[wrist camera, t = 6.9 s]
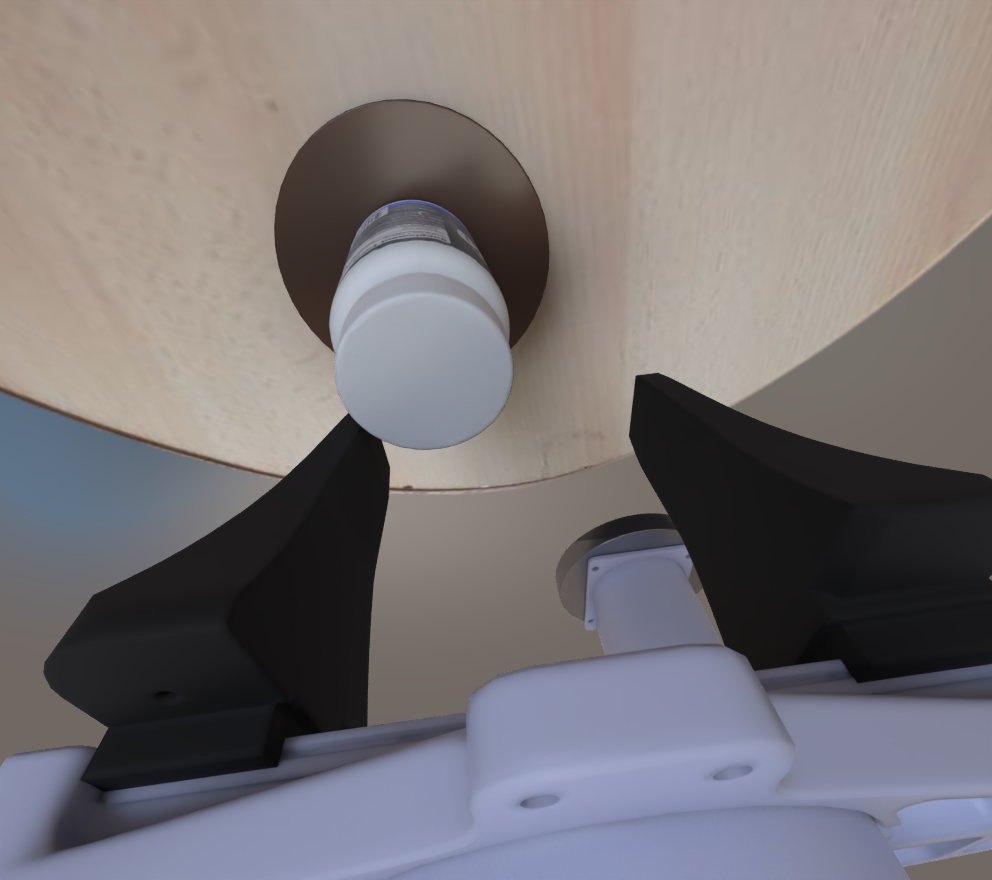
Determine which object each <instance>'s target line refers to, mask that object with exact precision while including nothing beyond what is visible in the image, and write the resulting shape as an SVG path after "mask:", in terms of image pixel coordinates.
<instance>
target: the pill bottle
mask: <svg viewBox="0 0 992 880" xmlns="http://www.w3.org/2000/svg"><path fill="white" fill-rule="evenodd" d="M329 328H330V335H331V341H332V345H333V348H334V351H335V354H336V356H335V365H334V369H335V381H336V386H337V389H338V393H339V396H340V398H341V400H342V402H343V404H344V406H345V408H346V409H347V411H348V412H349V414H350V415H351V417H352V418H353V419H354V420H355V421H356V422H357V423H358V424H359V425H360V426H361V427H363V428H364V429H365V430H366V431H368V432H369V433H370V434H372V435H374V436H375V437H377V438H379V439H381V440H383V441H385V442H388V443H390V444H393V445H396V446H399V447H404V448H411V449H420V450H431V449H441V448H446V447H450V446H454V445H457V444H460V443H462V442H465V441H467V440H469V439H471V438H473V437H474V436H476V435H478V434H479V433H481V432H482V431H483V430H485V429H486V428H487V427H488V426H489V425H491V424H492V423H493V422H494V420H495V419H496V418H497V417H498V415H499V414H500V412H501V411H502V410H503V408H504V406H505V404H506V402H507V400H508V398H509V395H510V391H511V388H512V383H513V373H514V367H513V358H512V353H511V350H510V346H509V336H510V329H509V315H508V310H507V306H506V303H505V299H504V297H503V295H502V292H501V290H500V287H499V285H498V284H497V282H496V280H495V279H494V277H493V275H492V273H491V271H490V270H489V268H488V266H487V265H486V263H485V261H484V259H483V257H482V255H481V253H480V251H479V249H478V248H477V246H476V243H475V242H474V240H473V238H472V236H471V235H470V233H469V232H468V230H467V229H466V227H465V226H464V225H463V224H462V223H461V222H460V221H459V220H458V219H457V218H456V217H455V216H454V215H453V214H451V213H450V212H448V211H447V210H445V209H443V208H442V207H440V206H438V205H435V204H433V203H430V202H426V201H420V200H403V201H397V202H393V203H390V204H388V205H385V206H383V207H381V208H380V209H378V210H377V211H375V212H374V213H372V214H371V215H370V216H369V217H368V218H367V219H366V220H365V221H364V223H363V224H362V225H361V227H360V228H359V230H358V232H357V233H356V236H355V238H354V240H353V243H352V245H351V248H350V251H349V254H348V257H347V260H346V263H345V265H344V268H343V273H342V276H341V279H340V281H339V284H338V287H337V290H336V293H335V295H334V298H333V301H332V306H331V311H330V320H329Z"/></svg>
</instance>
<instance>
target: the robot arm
mask: <svg viewBox="0 0 992 880" xmlns="http://www.w3.org/2000/svg"><path fill="white" fill-rule="evenodd" d="M629 437H630V440H631V443H632V446H633V448H634V451H635V454H636V456H637V458H638V461H639V463H640V466H641V467H642V469H643V471H644V473H645V475H646V476H647V478H648V480H649V482H650V483H651V485H652V487H653V489H654V490H655V492H656V493H657V496H658V497H659V499H660V501H661V502H662V504H663V506H664V508H665V509H666V511H667V513H668V514H669V516H670V518H671V520H672V521H673V523H674V525H675V527H676V528H677V530H678V532H679V534H680V536H681V538H682V540H683V542H684V544H683V545H676V546H668V547H661V548H654V549H646V550H639V551H631V552H624V553H617V554H609V555H602V556H595V557H592V558H590V559H589V560H588V567H587V583H586V599H585V615H584V626H585V629H586V630H598V634H599V637H600V640H601V644H602V647H603V651H604V654H605V655H604V656H596V657H590V658H582V659H575V660H568V661H561V662H554V663H547V664H540V665H533V666H528V667H524V668H520V669H517V670H513V671H509V672H506V673H502V674H498V675H497V676H495V677H494V678H492V679H491V680H489V681H488V682H486V683H485V684H483V685H482V686H480V687H479V688H477V689H476V690H475V691H474V692H473V693H472V695H471V696H470V699H469V703H468V706H467V710H466V712H465V713H458V714H451V715H444V716H437V717H430V718H423V719H416V720H409V721H402V722H395V723H388V724H381V725H374V726H367V710H368V709H367V708H368V705H367V704H368V669H369V645H370V626H371V611H372V598H373V597H372V596H373V583H374V576H375V569H376V564H377V558H378V553H379V547H380V542H381V537H382V532H383V527H384V521H385V516H386V511H387V505H388V499H389V481H390V466H389V463H388V459H387V456H386V453H385V450H384V446H383V443H382V440H381V439H379V438H377V437H375V436H374V435H372V434H370V433H369V432H368V431H366V430H365V429H364V428H363V427H361V426H360V425H359V424H358V423H357V422H356V421H355V420H354V419H353V418H352V417H351V415H350V414H349V413H348V414H347V415H346V416H345V417H344V418H343V419H342V420H341V421H340V422H339V423H338V424H337V425H336V426H335V427H334V428H333V430H332V431H331V432H330V433H329V434H328V435H327V436H326V437H325V438H324V439H323V440H322V441H321V442H320V443H319V444H318V445H317V446H316V447H315V449H314V450H313V451H312V452H311V453H310V454H309V455H308V456H307V457H306V458H305V459H304V460H303V461H301V462H300V463H299V464H298V465H297V466H296V467H295V468H294V469H293V470H292V471H291V472H290V473H289V474H288V475H287V476H286V477H285V478H283V479H282V480H281V481H280V482H279V483H278V484H277V485H276V486H275V487H273V488H272V489H271V490H269V491H268V492H267V493H266V494H265V495H263V496H262V497H261V498H259V499H258V500H257V501H255V502H254V503H253V504H252V505H250V506H249V507H248V508H246V509H245V510H244V511H242V512H241V513H239V514H238V515H236V516H235V517H233V518H232V519H230V520H229V521H227V522H226V523H224V524H223V525H221V526H220V527H218V528H217V529H215V530H214V531H212V532H211V533H209V534H208V535H206V536H205V537H203V538H201V539H200V540H198V541H196V542H195V543H193V544H191V545H190V546H188V547H186V548H185V549H183V550H181V551H180V552H177V553H176V554H174V555H172V556H171V557H168V558H167V559H165V560H163V561H161V562H159V563H157V564H156V565H154V566H152V567H150V568H148V569H146V570H144V571H142V572H140V573H138V574H136V575H134V576H132V577H130V578H128V579H126V580H124V581H122V582H120V583H118V584H115V585H113V586H111V587H109V588H107V589H105V590H103V591H101V592H99V593H97V594H94V595H93V596H92V598H91V599H90V600H89V602H88V603H87V605H86V606H85V607H84V609H83V610H82V611H81V613H80V615H79V616H78V617H77V618H76V620H75V621H74V623H73V624H72V625H71V627H70V628H69V629H68V631H67V632H66V634H65V635H64V636H63V638H62V639H61V640H60V642H59V643H58V645H57V646H56V647H55V649H54V650H53V652H52V653H51V654H50V656H49V657H48V659H47V660H46V661H45V664H44V675H45V678H46V679H47V681H48V683H49V685H50V687H51V689H53V690H54V691H55V692H56V693H57V694H59V695H60V696H61V697H62V698H63V699H65V700H67V701H68V702H70V703H71V704H73V705H74V706H76V707H77V708H79V709H80V710H82V711H84V712H85V713H87V714H88V715H90V716H91V717H93V718H94V719H96V720H97V721H99V722H100V723H102V724H104V725H105V726H107V727H109V728H108V730H107V732H106V734H105V735H104V737H103V739H102V741H101V743H100V745H99V746H98V748H95V747H90V746H83V745H81V746H66V747H59V748H52V749H45V750H38V751H31V752H24V753H17V754H14V755H11V756H9V757H7V758H6V759H5V761H4V762H3V764H2V765H1V767H0V880H910V878H909V877H908V875H907V873H906V872H905V870H904V868H903V867H906V866H911V865H916V864H921V863H926V862H931V861H936V860H941V859H946V858H951V857H957V856H962V855H967V854H972V853H977V852H981V851H987V850H992V581H991V580H990V579H989V577H990V576H991V575H992V479H990V478H989V477H987V476H985V475H982V474H975V473H969V472H962V471H956V470H949V469H943V468H937V467H930V466H923V465H917V464H912V463H906V462H902V461H897V460H892V459H887V458H882V457H877V456H873V455H868V454H864V453H860V452H856V451H852V450H848V449H844V448H841V447H837V446H833V445H830V444H826V443H823V442H819V441H816V440H812V439H809V438H806V437H803V436H800V435H797V434H794V433H791V432H788V431H785V430H782V429H780V428H777V427H774V426H771V425H769V424H766V423H764V422H761V421H759V420H757V419H754V418H752V417H749V416H747V415H745V414H743V413H740V412H738V411H736V410H734V409H732V408H729V407H727V406H725V405H723V404H721V403H719V402H717V401H715V400H713V399H711V398H709V397H707V396H705V395H703V394H701V393H699V392H697V391H695V390H693V389H691V388H689V387H687V386H685V385H683V384H681V383H679V382H677V381H675V380H673V379H671V378H669V377H667V376H665V375H662V374H660V373H653V374H645V375H637V376H636V379H635V387H634V396H633V405H632V414H631V422H630V431H629ZM693 565H694V567H695V570H696V572H697V574H698V577H699V579H700V582H701V584H702V587H703V589H704V592H705V594H706V597H707V599H708V602H709V604H710V607H711V609H712V612H713V615H714V617H715V620H716V623H717V626H718V628H719V631H720V634H721V637H722V639H723V642H724V645H725V646H723V645H722V643H721V642H720V640H719V638H718V636H717V634H716V632H715V630H714V628H713V626H712V624H711V622H710V620H709V618H708V617H707V615H706V613H705V611H704V609H703V607H702V605H701V603H700V601H699V600H698V598H697V596H696V594H695V592H694V590H693V588H692V586H691V584H690V582H689V580H688V579H689V576H690V572H691V569H692V566H693Z"/></svg>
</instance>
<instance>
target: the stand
mask: <svg viewBox="0 0 992 880" xmlns="http://www.w3.org/2000/svg"><path fill="white" fill-rule="evenodd" d="M403 200H420V201H426V202H430V203H433V204H435V205H438V206H440V207H442V208H443V209H445V210H447V211H448V212H450V213H451V214H453V215H454V216H455V217H456V218H457V219H458V220H459V221H460V222H461V223H462V224H463V225H464V226H465V227H466V229H467V230H468V232H469V233H470V235H471V236H472V238H473V240H474V242H475V243H476V246H477V248H478V249H479V251H480V253H481V255H482V257H483V259H484V261H485V263H486V265H487V266H488V268H489V270H490V271H491V273H492V275H493V277H494V279H495V280H496V282H497V284H498V285H499V287H500V290H501V292H502V295H503V297H504V299H505V303H506V306H507V310H508V315H509V329H510V336H509V346H510V349H511V348H512V347H513V346H514V345H515V344H516V343H517V342H518V340H519V339H520V338H521V337H522V335H523V334H524V333H525V332H526V330H527V328H528V327H529V325H530V323H531V322H532V320H533V318H534V317H535V314H536V312H537V310H538V308H539V305H540V303H541V300H542V297H543V293H544V290H545V287H546V281H547V275H548V269H549V241H548V231H547V226H546V221H545V216H544V213H543V210H542V207H541V204H540V201H539V198H538V195H537V193H536V191H535V189H534V187H533V185H532V183H531V181H530V179H529V177H528V175H527V174H526V172H525V171H524V169H523V168H522V166H521V165H520V163H519V162H518V160H517V159H516V158H515V157H514V155H513V154H512V153H511V152H510V151H509V150H508V148H507V147H506V146H505V145H504V144H503V143H502V142H501V141H500V140H499V139H497V138H496V137H495V136H494V135H493V134H492V133H491V132H490V131H488V130H487V129H486V128H484V127H483V126H481V125H480V124H478V123H477V122H475V121H474V120H472V119H471V118H469V117H467V116H465V115H463V114H460V113H458V112H456V111H454V110H452V109H450V108H447V107H443V106H440V105H437V104H433V103H430V102H424V101H416V100H409V99H399V100H383V101H377V102H372V103H367V104H364V105H361V106H358V107H356V108H353V109H350V110H348V111H345V112H344V113H342V114H340V115H338V116H337V117H335V118H333V119H332V120H330V121H328V122H327V123H326V124H325V125H323V126H322V127H321V128H320V129H319V130H317V131H316V132H315V133H314V134H313V135H312V136H311V137H310V138H309V139H308V140H307V142H306V143H305V144H304V145H303V146H302V148H301V149H300V150H299V151H298V153H297V155H296V156H295V158H294V160H293V161H292V163H291V165H290V166H289V168H288V170H287V173H286V175H285V178H284V180H283V183H282V185H281V188H280V192H279V196H278V201H277V205H276V213H275V224H274V231H275V248H276V254H277V259H278V265H279V268H280V272H281V275H282V278H283V281H284V284H285V286H286V289H287V291H288V293H289V295H290V298H291V300H292V302H293V303H294V305H295V307H296V309H297V310H298V312H299V314H300V315H301V317H302V318H303V320H304V321H305V322H306V323H307V325H308V326H309V327H310V329H311V330H312V331H313V332H314V333H315V334H316V336H317V337H318V338H319V339H320V340H321V341H322V342H323V343H324V344H325V345H326V346H328V347H329V348H330V349H331V350H332V351H333V352H335V351H334V348H333V345H332V341H331V335H330V328H329V320H330V311H331V306H332V301H333V298H334V295H335V293H336V290H337V287H338V284H339V281H340V279H341V276H342V273H343V268H344V265H345V263H346V260H347V257H348V254H349V251H350V248H351V245H352V243H353V240H354V238H355V236H356V233H357V232H358V230H359V228H360V227H361V225H362V224H363V223H364V221H365V220H366V219H367V218H368V217H369V216H370V215H371V214H372V213H374V212H375V211H377V210H378V209H380V208H381V207H383V206H385V205H388V204H390V203H393V202H397V201H403Z"/></svg>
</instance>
